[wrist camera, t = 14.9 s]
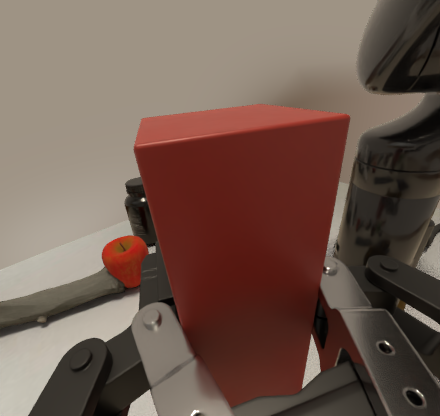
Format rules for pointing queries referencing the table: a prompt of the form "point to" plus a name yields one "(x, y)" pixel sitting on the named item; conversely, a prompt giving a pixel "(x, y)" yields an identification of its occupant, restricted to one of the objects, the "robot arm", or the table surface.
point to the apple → (125, 259)
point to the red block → (244, 233)
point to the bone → (58, 299)
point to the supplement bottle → (139, 211)
